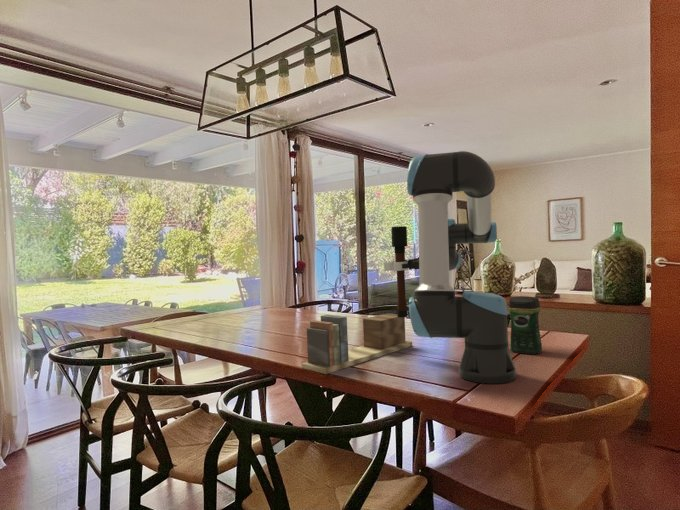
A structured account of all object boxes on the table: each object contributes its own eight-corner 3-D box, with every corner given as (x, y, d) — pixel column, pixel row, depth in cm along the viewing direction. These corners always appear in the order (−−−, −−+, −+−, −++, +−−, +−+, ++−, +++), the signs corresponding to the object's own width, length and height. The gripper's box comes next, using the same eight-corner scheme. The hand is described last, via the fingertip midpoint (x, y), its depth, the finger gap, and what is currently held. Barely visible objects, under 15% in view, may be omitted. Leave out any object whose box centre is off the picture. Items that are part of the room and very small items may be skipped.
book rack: (388, 341, 171) (387, 302, 171) (412, 345, 164) (410, 303, 163) (301, 368, 140) (299, 319, 140) (325, 374, 132) (323, 322, 132)
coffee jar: (544, 350, 149) (542, 295, 148) (537, 356, 142) (535, 298, 142) (515, 347, 155) (513, 294, 154) (507, 352, 149) (505, 297, 148)
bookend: (388, 339, 169) (387, 313, 169) (405, 342, 163) (404, 315, 163) (364, 346, 159) (362, 318, 159) (381, 349, 153) (380, 321, 153)
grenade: (413, 315, 149) (409, 226, 148) (407, 318, 144) (404, 226, 143) (397, 314, 152) (393, 227, 151) (391, 317, 147) (387, 227, 146)
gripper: (451, 273, 154) (410, 279, 138) (413, 272, 166) (371, 277, 150) (450, 251, 154) (409, 255, 138) (412, 252, 166) (370, 255, 149)
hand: (389, 266), depth 144 cm, fingers closed on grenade, 3 cm apart
